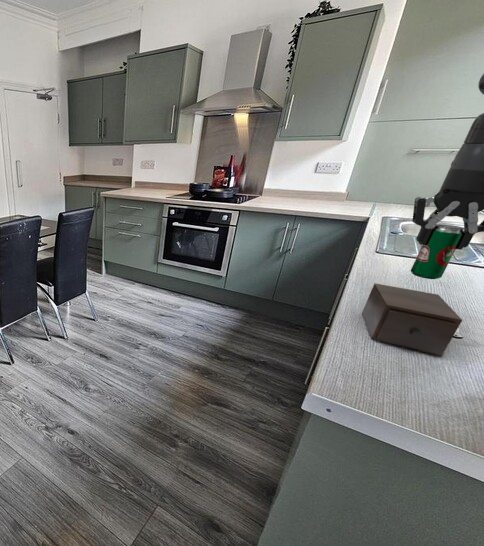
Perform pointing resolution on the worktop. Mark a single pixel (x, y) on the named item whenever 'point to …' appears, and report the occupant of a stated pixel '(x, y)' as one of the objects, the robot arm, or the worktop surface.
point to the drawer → (416, 331)
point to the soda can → (437, 251)
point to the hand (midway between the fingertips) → (439, 246)
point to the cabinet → (404, 307)
